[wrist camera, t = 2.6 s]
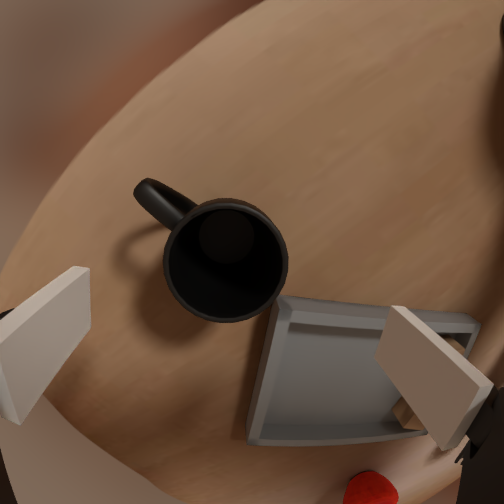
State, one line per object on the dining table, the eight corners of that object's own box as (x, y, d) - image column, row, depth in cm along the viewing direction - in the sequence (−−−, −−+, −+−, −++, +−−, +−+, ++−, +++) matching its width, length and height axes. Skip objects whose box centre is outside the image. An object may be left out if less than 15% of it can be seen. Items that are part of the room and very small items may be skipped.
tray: (274, 294, 31) (279, 308, 28) (466, 313, 34) (481, 324, 31) (245, 425, 36) (246, 444, 32) (417, 420, 38) (426, 434, 35)
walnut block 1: (408, 386, 35) (422, 404, 31) (426, 391, 36) (440, 407, 32) (391, 409, 36) (403, 428, 32) (410, 412, 37) (422, 430, 33)
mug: (195, 145, 28) (179, 132, 18) (288, 235, 30) (314, 263, 21) (135, 211, 29) (96, 229, 19) (228, 295, 31) (228, 345, 22)
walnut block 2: (423, 338, 34) (440, 354, 30) (447, 334, 34) (465, 348, 30) (416, 366, 35) (431, 383, 31) (440, 360, 35) (456, 376, 31)
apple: (327, 493, 42) (337, 527, 34) (352, 463, 40) (367, 500, 32) (369, 491, 43) (381, 522, 35) (395, 462, 41) (412, 494, 33)
